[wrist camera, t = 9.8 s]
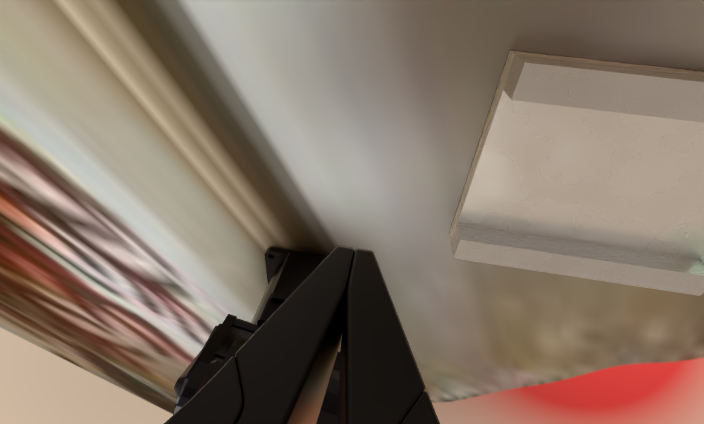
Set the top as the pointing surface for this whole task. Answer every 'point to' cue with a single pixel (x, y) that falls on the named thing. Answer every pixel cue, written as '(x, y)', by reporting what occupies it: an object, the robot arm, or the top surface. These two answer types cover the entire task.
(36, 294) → the top surface
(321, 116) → the top surface
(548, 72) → the slot board
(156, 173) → the top surface
